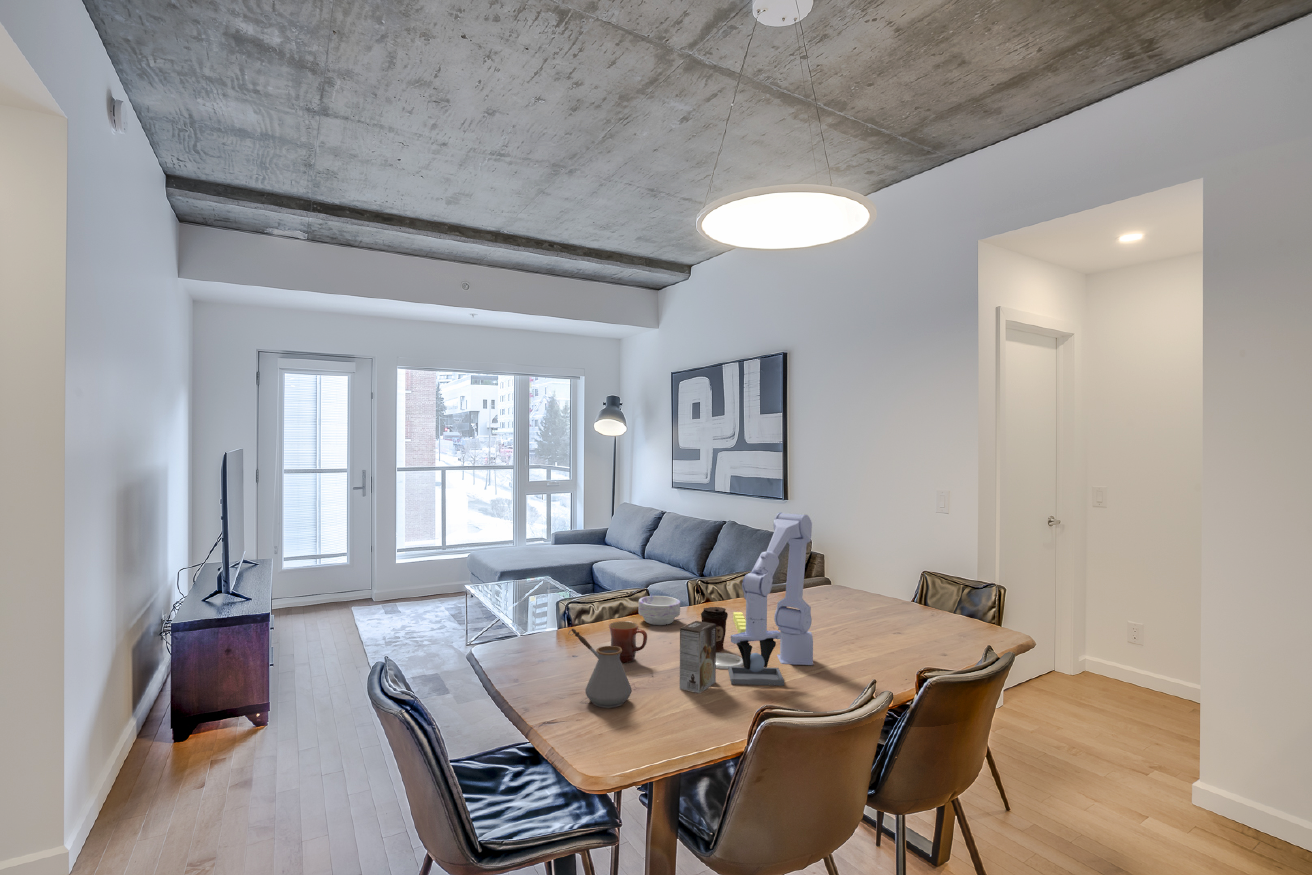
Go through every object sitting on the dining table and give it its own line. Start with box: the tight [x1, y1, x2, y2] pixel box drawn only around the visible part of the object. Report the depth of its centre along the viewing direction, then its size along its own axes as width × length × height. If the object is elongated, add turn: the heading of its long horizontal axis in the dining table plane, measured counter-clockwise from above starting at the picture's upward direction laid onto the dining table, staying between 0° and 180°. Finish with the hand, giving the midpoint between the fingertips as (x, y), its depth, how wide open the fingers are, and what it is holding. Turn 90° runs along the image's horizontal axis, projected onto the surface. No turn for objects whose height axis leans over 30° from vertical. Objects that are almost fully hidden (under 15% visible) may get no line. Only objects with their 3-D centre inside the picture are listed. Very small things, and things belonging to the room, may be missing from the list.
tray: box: [727, 666, 785, 687], centre depth 178 cm, size 14×10×2 cm
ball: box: [749, 652, 765, 672], centre depth 178 cm, size 5×5×5 cm
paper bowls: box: [638, 595, 681, 626], centre depth 236 cm, size 15×15×8 cm
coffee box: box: [679, 620, 717, 694], centre depth 173 cm, size 9×6×16 cm
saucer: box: [716, 652, 744, 670], centre depth 191 cm, size 12×12×1 cm
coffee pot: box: [568, 628, 633, 709], centre depth 165 cm, size 21×12×15 cm, turn 45°
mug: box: [608, 620, 648, 664], centre depth 192 cm, size 12×9×10 cm
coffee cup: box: [700, 606, 729, 653], centre depth 203 cm, size 9×8×13 cm
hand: (755, 667), depth 178 cm, fingers closed on ball, 5 cm apart
